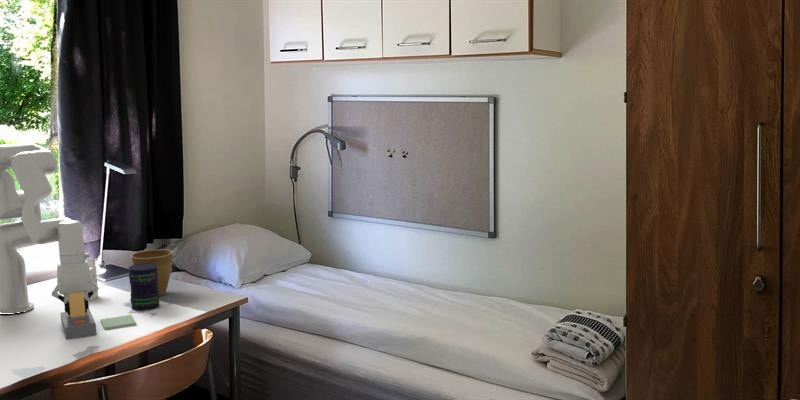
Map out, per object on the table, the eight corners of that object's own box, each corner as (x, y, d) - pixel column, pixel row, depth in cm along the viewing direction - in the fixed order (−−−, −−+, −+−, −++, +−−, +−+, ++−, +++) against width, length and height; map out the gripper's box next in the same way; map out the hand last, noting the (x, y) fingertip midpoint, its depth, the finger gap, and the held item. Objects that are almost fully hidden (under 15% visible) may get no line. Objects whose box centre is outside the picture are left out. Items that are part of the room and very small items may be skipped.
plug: (67, 328, 260) (63, 290, 258) (87, 325, 263) (84, 287, 261) (69, 333, 254) (65, 295, 252) (90, 330, 257) (86, 292, 255)
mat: (100, 321, 266) (100, 319, 266) (131, 317, 271) (131, 314, 271) (104, 329, 258) (104, 327, 257) (136, 324, 262) (136, 322, 262)
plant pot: (181, 289, 305) (178, 249, 302) (166, 300, 290) (163, 258, 288) (144, 288, 306) (141, 248, 304) (127, 299, 292) (124, 257, 289)
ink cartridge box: (70, 299, 293) (67, 261, 291) (77, 295, 298) (74, 258, 296) (92, 299, 292) (89, 261, 290) (98, 296, 297) (95, 258, 295)
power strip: (61, 324, 264) (60, 310, 264) (89, 319, 268) (88, 306, 268) (66, 339, 249) (65, 325, 248) (96, 334, 253) (95, 321, 252)
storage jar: (126, 307, 283) (123, 266, 280) (151, 301, 289) (149, 261, 287) (139, 312, 276) (136, 271, 273) (164, 306, 282) (162, 266, 280)
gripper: (98, 253, 262) (102, 306, 265) (43, 259, 254) (48, 313, 257) (101, 257, 255) (105, 311, 258) (44, 264, 247) (50, 320, 250)
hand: (77, 312), depth 258 cm, fingers closed on plug, 4 cm apart
